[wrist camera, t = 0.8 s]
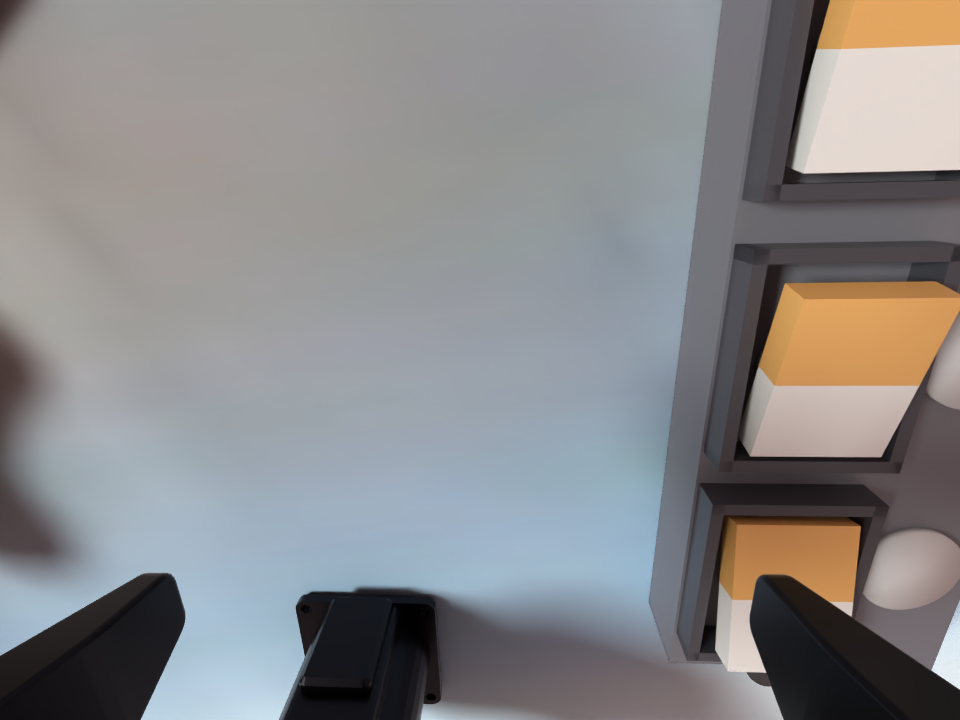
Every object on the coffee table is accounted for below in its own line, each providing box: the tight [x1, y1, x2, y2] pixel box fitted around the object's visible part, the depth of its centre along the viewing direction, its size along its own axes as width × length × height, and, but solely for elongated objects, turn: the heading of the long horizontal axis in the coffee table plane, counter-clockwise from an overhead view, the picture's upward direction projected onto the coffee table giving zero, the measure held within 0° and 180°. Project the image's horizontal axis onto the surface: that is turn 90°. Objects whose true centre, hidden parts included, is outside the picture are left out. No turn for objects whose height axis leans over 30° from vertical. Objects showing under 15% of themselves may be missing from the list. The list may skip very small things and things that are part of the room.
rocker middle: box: [738, 281, 960, 457], centre depth 14 cm, size 5×4×1 cm
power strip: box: [649, 0, 960, 686], centre depth 16 cm, size 29×10×4 cm, turn 1°
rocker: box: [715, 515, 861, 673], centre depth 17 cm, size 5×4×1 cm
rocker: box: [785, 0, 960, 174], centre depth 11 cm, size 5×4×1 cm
